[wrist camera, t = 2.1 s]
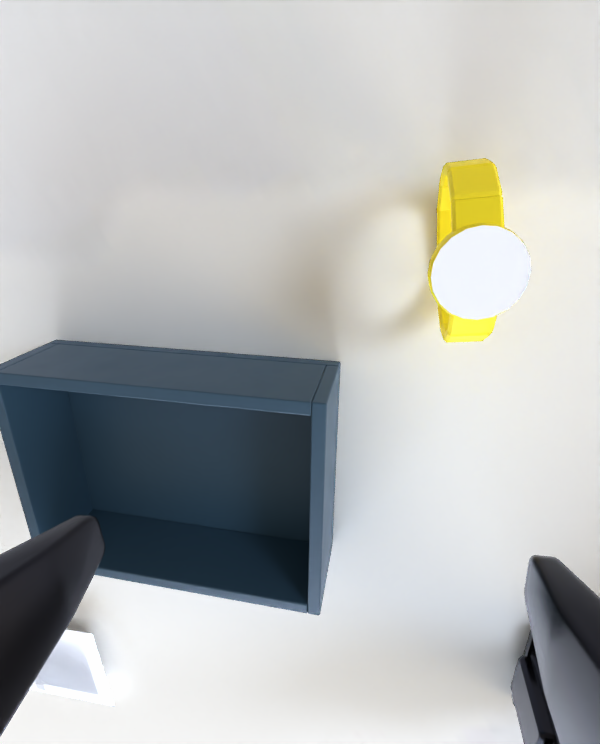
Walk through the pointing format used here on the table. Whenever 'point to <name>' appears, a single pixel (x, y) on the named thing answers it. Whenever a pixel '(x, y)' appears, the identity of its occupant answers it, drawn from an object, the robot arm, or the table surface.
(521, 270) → the watch
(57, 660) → the touchpad
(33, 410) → the organiser tray
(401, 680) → the table surface
